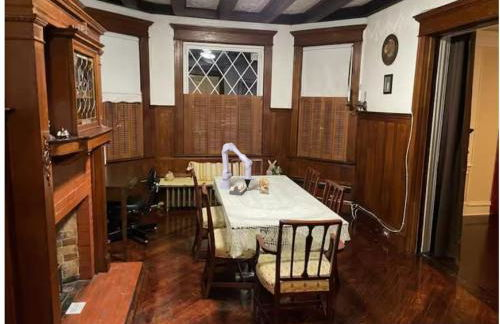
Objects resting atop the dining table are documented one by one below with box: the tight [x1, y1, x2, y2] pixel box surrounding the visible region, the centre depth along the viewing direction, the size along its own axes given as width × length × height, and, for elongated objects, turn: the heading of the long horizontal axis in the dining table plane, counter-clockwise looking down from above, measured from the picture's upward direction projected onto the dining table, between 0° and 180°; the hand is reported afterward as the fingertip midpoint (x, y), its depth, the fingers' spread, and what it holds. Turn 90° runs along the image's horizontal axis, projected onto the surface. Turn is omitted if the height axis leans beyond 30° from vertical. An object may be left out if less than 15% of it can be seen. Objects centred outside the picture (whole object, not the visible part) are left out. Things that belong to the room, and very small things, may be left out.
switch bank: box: [228, 185, 248, 197], centre depth 343 cm, size 11×21×3 cm, turn 166°
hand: (247, 187), depth 348 cm, fingers closed
